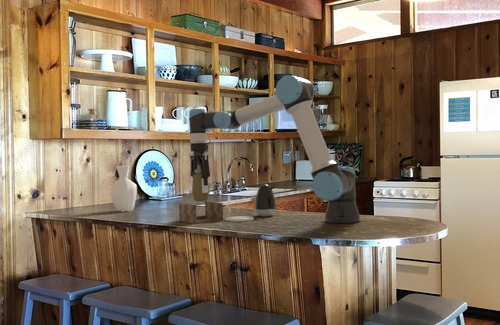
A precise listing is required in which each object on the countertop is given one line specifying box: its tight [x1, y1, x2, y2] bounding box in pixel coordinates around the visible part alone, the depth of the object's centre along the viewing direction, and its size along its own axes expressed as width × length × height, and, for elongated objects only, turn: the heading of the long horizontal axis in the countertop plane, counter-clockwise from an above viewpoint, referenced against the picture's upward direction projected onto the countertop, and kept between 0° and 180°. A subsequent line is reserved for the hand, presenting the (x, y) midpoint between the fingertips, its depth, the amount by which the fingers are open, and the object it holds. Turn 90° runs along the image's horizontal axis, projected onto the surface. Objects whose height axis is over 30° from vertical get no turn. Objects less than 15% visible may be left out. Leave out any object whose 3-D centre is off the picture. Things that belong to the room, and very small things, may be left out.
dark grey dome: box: [254, 183, 277, 217], centre depth 265 cm, size 10×10×15 cm
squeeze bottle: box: [191, 165, 211, 202], centre depth 254 cm, size 8×8×18 cm
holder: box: [178, 200, 224, 225], centre depth 255 cm, size 15×15×8 cm
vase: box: [110, 165, 138, 213], centre depth 306 cm, size 14×14×25 cm
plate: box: [225, 215, 255, 223], centre depth 253 cm, size 13×13×1 cm
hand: (200, 192), depth 254 cm, fingers closed on squeeze bottle, 8 cm apart
